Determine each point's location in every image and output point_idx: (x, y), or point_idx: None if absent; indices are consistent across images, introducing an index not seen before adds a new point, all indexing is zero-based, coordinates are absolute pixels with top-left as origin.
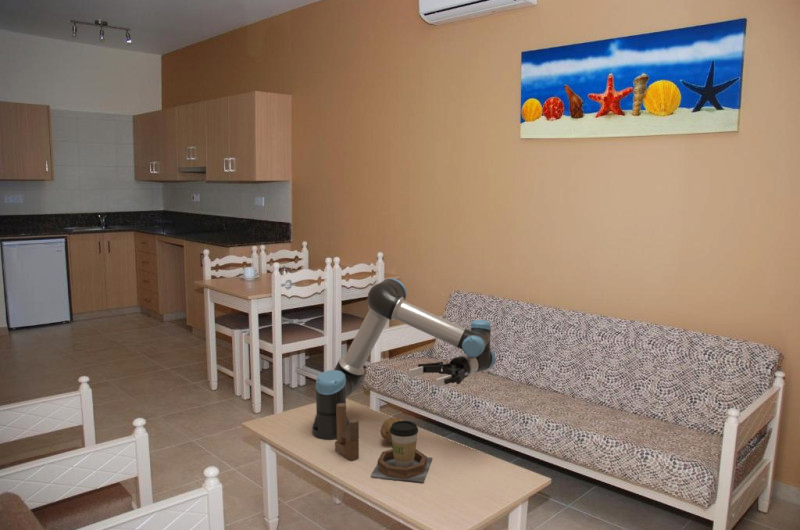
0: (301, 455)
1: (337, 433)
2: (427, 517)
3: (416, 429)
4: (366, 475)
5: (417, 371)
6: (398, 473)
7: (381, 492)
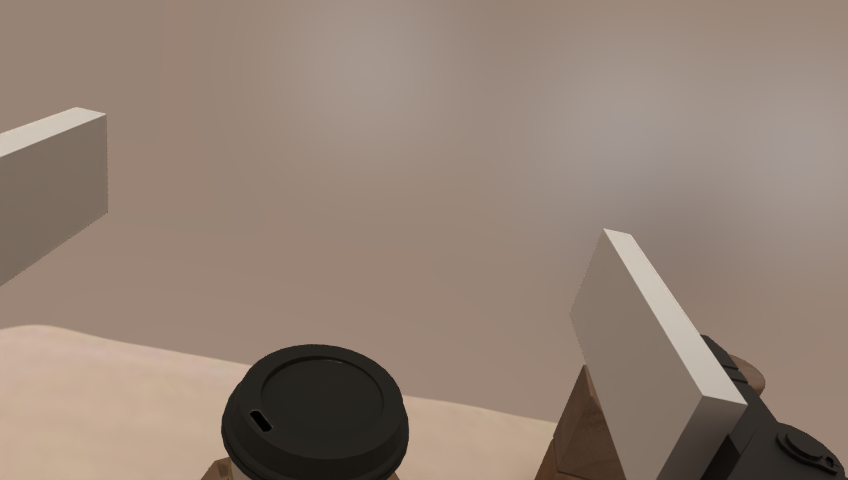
0: None
1: None
2: (22, 346)
3: (234, 422)
4: None
5: (624, 344)
6: None
7: None
